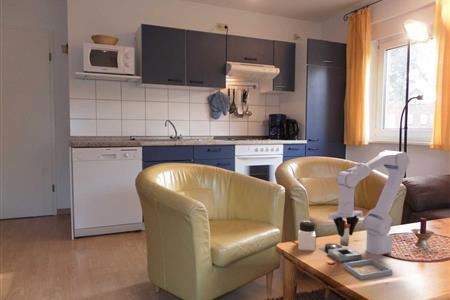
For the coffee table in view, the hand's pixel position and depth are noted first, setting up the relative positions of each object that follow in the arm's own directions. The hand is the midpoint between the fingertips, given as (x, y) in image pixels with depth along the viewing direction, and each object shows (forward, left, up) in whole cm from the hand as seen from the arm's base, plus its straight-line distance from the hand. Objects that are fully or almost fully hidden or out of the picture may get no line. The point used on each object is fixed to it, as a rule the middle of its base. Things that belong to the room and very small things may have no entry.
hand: (345, 235), depth 134 cm
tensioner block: (0, -3, -10) cm, 10 cm away
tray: (0, +13, -10) cm, 16 cm away
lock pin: (0, 0, -4) cm, 4 cm away
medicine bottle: (+9, -14, -10) cm, 20 cm away
